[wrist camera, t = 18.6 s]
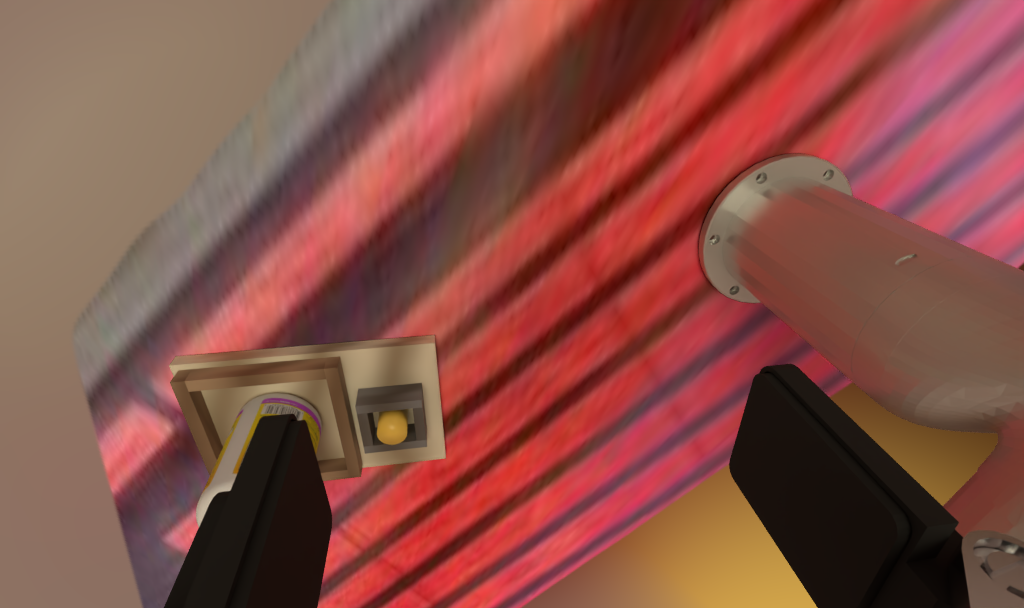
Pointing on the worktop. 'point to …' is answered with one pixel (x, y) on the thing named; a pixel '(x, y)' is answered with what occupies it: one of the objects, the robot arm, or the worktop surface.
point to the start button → (392, 426)
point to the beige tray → (322, 397)
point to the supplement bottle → (243, 434)
